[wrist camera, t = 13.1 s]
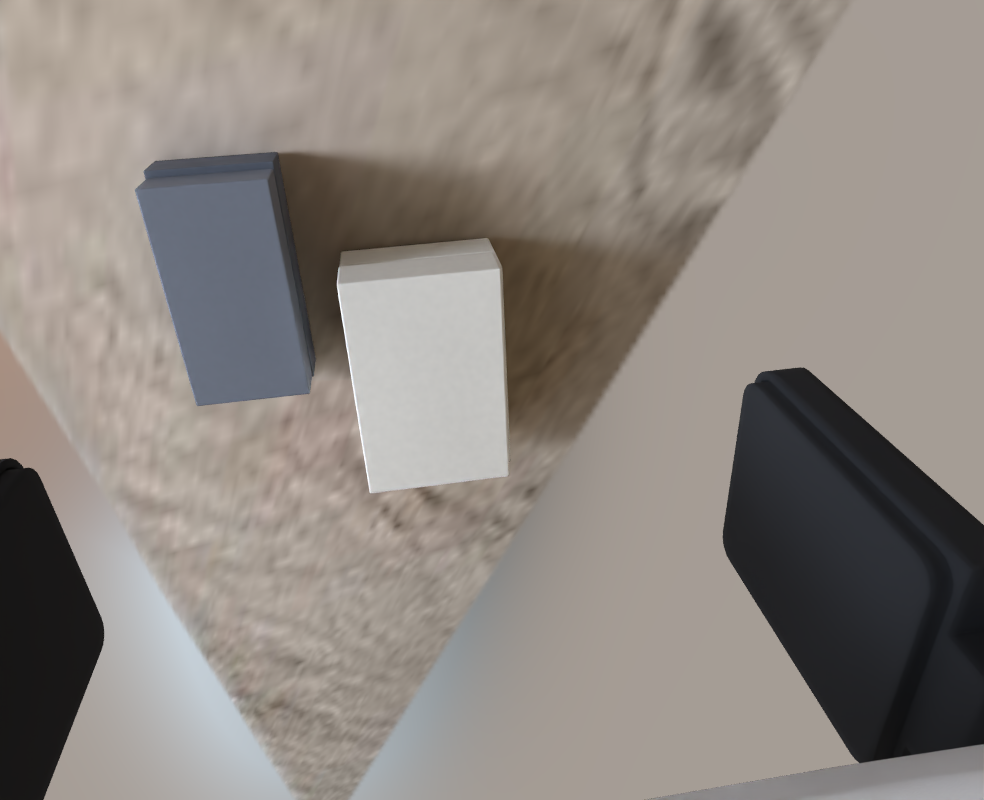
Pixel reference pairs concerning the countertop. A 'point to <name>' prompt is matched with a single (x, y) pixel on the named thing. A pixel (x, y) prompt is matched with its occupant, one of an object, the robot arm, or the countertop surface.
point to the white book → (427, 369)
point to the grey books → (230, 275)
